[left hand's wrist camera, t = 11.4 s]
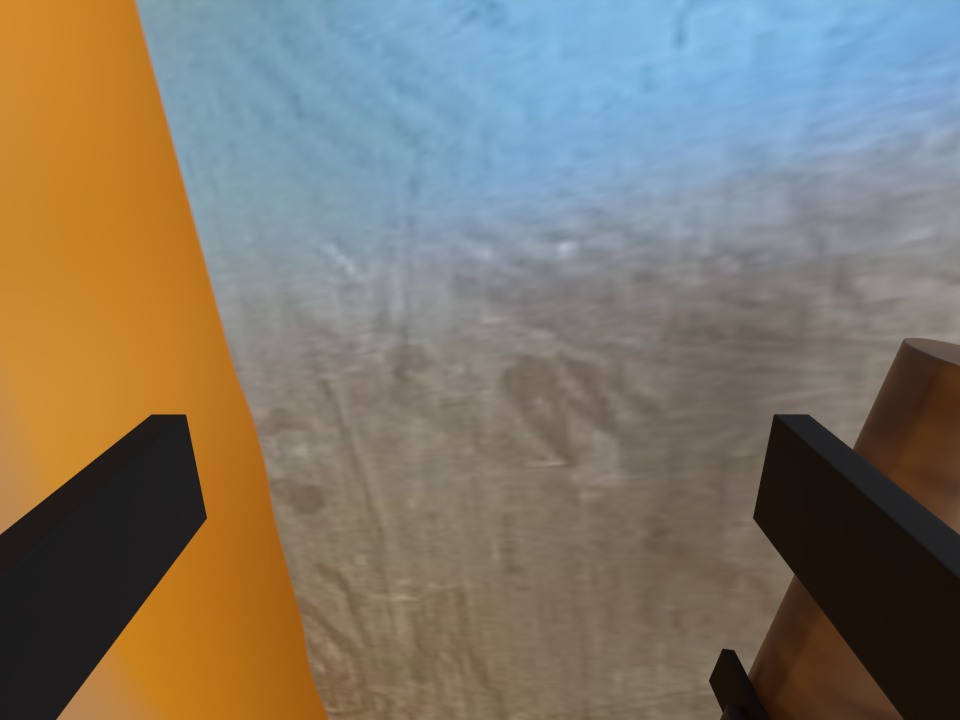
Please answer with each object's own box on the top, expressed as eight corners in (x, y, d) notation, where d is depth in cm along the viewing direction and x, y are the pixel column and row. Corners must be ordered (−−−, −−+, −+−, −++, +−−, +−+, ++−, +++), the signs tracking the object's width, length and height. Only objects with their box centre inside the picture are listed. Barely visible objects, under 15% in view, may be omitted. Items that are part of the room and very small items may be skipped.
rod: (867, 327, 28) (1000, 385, 21) (1008, 353, 29) (1185, 419, 21) (707, 694, 37) (762, 825, 29) (817, 710, 37) (898, 843, 30)
